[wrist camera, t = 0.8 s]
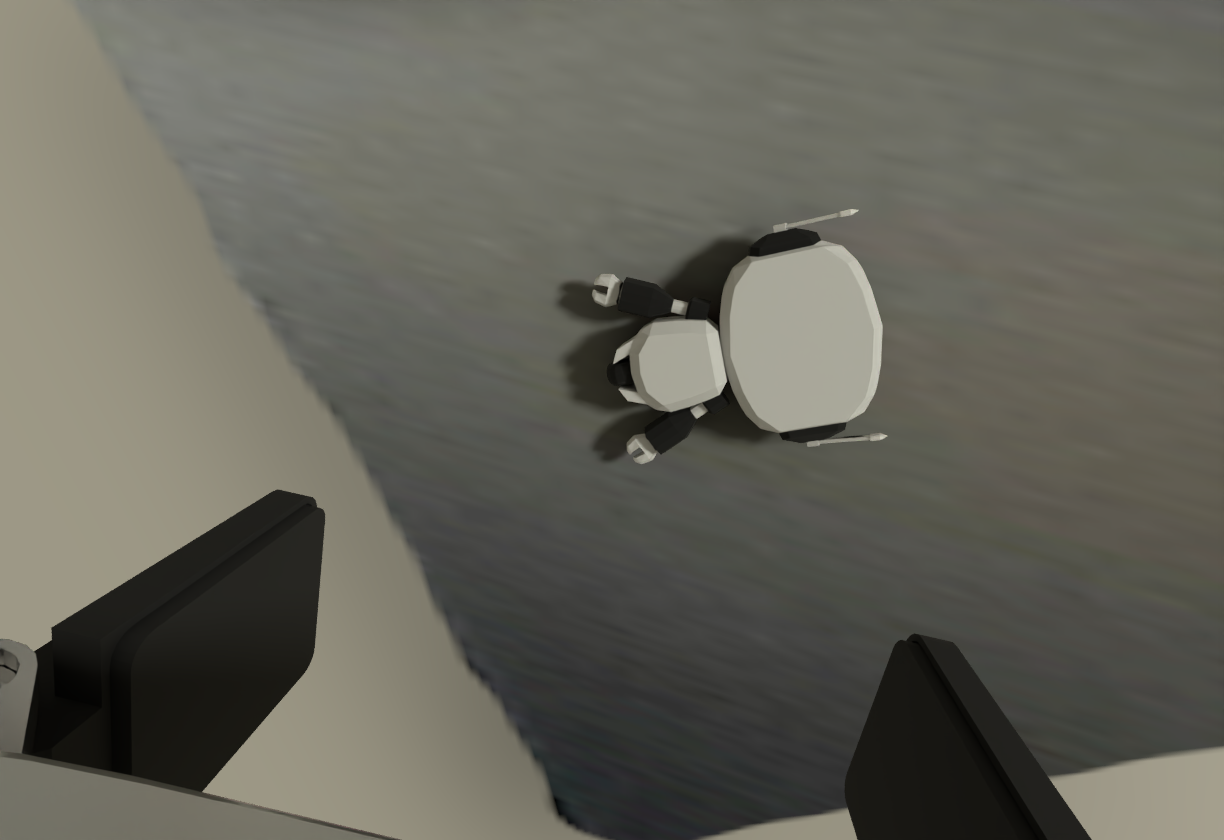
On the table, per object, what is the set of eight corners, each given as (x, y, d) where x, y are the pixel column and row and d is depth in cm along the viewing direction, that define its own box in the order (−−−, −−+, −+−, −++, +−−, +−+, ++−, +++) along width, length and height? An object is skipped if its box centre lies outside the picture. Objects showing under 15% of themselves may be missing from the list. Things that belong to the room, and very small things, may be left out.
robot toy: (635, 458, 42) (880, 419, 39) (625, 483, 38) (900, 441, 34) (592, 267, 39) (853, 207, 36) (576, 270, 35) (871, 203, 32)
